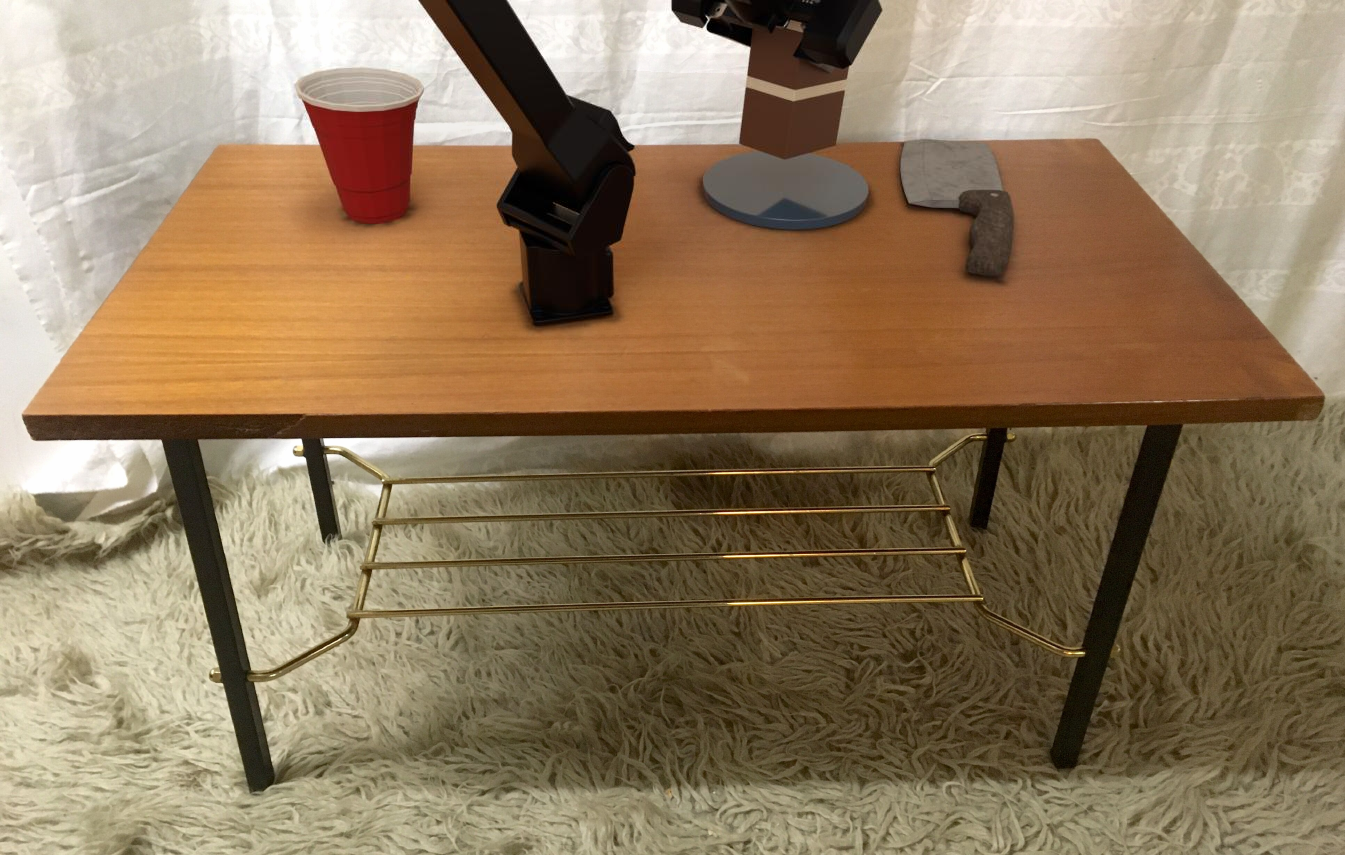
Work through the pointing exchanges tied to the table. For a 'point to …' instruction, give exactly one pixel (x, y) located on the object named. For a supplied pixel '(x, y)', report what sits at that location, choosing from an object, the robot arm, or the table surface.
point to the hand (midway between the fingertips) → (805, 60)
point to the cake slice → (789, 98)
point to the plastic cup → (365, 136)
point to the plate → (785, 190)
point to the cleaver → (963, 194)
